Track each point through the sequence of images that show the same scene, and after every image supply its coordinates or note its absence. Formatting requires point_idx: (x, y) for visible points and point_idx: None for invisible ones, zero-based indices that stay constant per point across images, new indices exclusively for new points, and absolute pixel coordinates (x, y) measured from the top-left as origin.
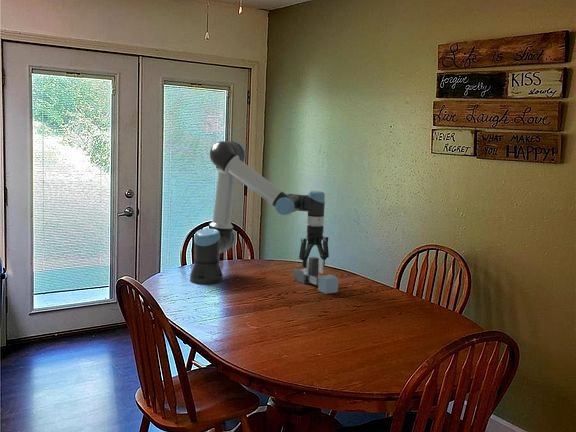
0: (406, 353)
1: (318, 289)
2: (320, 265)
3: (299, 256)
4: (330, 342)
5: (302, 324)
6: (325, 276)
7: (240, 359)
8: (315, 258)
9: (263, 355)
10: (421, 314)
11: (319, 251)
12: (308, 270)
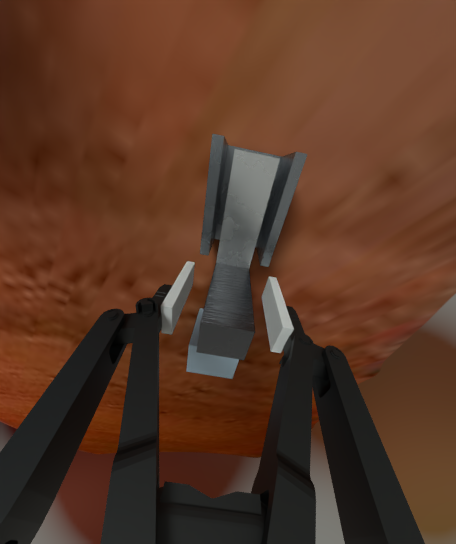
0: None
1: (199, 311)
2: (270, 311)
3: (96, 327)
4: None
5: None
6: (206, 356)
7: None
8: (221, 354)
9: (2, 408)
10: (250, 431)
11: (282, 392)
12: (277, 201)
